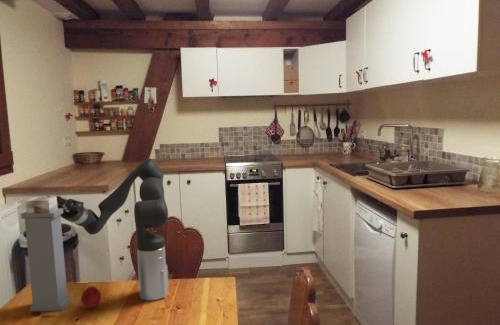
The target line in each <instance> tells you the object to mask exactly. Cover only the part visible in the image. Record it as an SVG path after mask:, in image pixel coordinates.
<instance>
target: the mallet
mask: <svg viewBox="0 0 500 325" xmlns="http://www.w3.org/2000/svg"><path fill="white" fill-rule="evenodd" d="M61 197H62V198H63V196H61ZM63 199H64V198H63ZM58 205H60V204H58V203H57V197H56V196H50V197H47V196H36V197H35V196H34V197H32V198H29V199H27V200H25V212H26V211H27V213H51V212H53V211H55V210H56V209H58V208H57V206H58Z"/></svg>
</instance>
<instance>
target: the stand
mask: <svg viewBox="0 0 500 325" xmlns="http://www.w3.org/2000/svg"><path fill="white" fill-rule="evenodd" d="M62 213H63V208H58V209H56V210H55V211H53V212H51V213H27V211H26V210H25V212H22V213H20V217H21V220H22V219H24V225H25V226H24V228H25V235H26V245H27V246H26V247H27V259H28V266H29V277H30V288H31V296H32V297H31V299H32V304H31V305H30V306H29V309H30V310H29V311H30V312H52V311H54V312H56V311H58V312H60V311H63V310H65V308H66V307H67V306H68V305H69V304H70V302H71V301H72V300H71V296H68V289H67V278H66V277H67V276H66V275H67V274H66V266H65V265H66V264H65V254H64V240H63V230H62V228H63V227H62V219H61V218H62V217H61V214H62Z"/></svg>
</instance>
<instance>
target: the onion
mask: <svg viewBox="0 0 500 325" xmlns="http://www.w3.org/2000/svg"><path fill="white" fill-rule="evenodd" d="M101 296H102V294H101V291H100V290H99V289H98V288H97V287H96V286H93V285H91V283H90V284H88V285H87V287H86V288H85V289H84V290H83V292H82V294H81V296H80V301H81V303H82V305H83V306H85V307H86V308H89V309H93V308H94V307H96V306H97V305H98V304H99V303H100V301H101Z"/></svg>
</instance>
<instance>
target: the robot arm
mask: <svg viewBox="0 0 500 325" xmlns="http://www.w3.org/2000/svg"><path fill="white" fill-rule="evenodd" d="M138 177H139V179H140V180H141V183H140V185H139V191H138V192H139V198H140V200H139V201H136V202H135V204H134V207H133V213H134V215H133V216H134V224H135V233H136V253H137V254H136V256H137V273H138V276H137V277H138V288H139V289H138V292H139V298H140V299H141V300H143V301H148V302H149V301H157V300H160V299H165V298H166V297H167V294H168V291H169V274H168V264H167V263H166V262H167V261H166V242H165V237H164V236H163V235H161V234H157V233H153V232H151V231H149V230H147V229H152V228H153V229H154V228H160V227H164V226H165V225H166V224H167V223H168V220H169V211H168V205H167V202H166V199H165V188H164V172H163V170H162V168H160V166H159V165H158V164H157V163H156V162H155V161H154V160H153V159H151V158H146V159H144V160H143V161H141V163H139V164H138V165H137V166H136V167H135V168H134V169H133V170H132V172H130V173H129V174H128V175H127V177H126V178H125V179H124V180H123V181H122V182H120V184H119V186H117V188H115V190H113V191H112V192H111V193H110V194H108V196H106V198H104V199H103V200H102V201H101V202H100V203H99V204H98V205H97V207H98V210H99V212H100V215H98V214H96V213H95V212H94V210H92V209H90V208H87V207H86V206H85V205H84V203H85V202H83V201H80V200H76V199H73V198H69V199H67V198H62V197H63V196H60V195H56V196H55V197H57V203H58V204H60V205H58V206H57V208H63V213H62V214H61V218H62V219H64V220H66V221H67V222H70V223H71V224H75V225H77V226H79V227H82V228H83V229H84V230H85V231H86V232H87V234H89V235H90V236H91V235H96V234H98V233H100V231H102V229H104V226H105V225H106V224H107V222H108V221H109V219H110V218H111V217H112V216H113V214H114V213H116V212H117V211H118V210H119V209H120V208H122V207H123V206H124V205H125V203H126V201H127V198H128V197H129V195H130V194H129V193H130V191H131V187H132V185H133V184H134V182H135V180H136V179H138ZM46 197H51V196H50V195H47V196H46Z"/></svg>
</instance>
